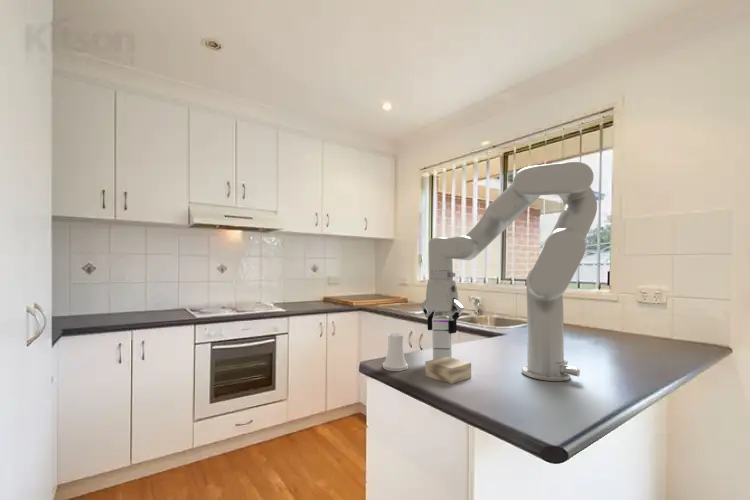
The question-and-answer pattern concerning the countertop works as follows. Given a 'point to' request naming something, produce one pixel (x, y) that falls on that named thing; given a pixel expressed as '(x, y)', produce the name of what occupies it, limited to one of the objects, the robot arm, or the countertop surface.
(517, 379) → the countertop surface
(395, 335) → the white flared cylinder
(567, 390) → the countertop surface
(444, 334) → the syrup box
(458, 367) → the beech block
